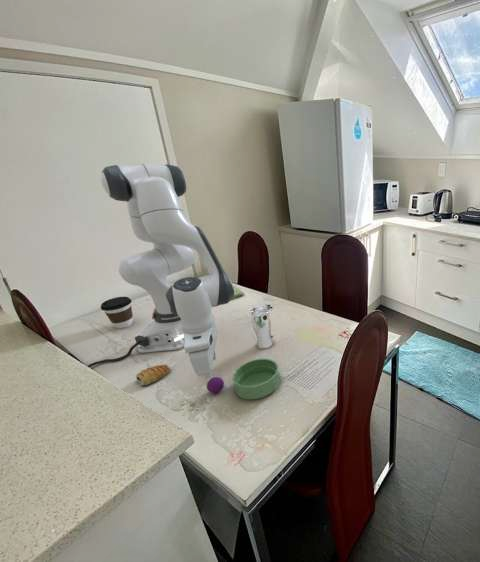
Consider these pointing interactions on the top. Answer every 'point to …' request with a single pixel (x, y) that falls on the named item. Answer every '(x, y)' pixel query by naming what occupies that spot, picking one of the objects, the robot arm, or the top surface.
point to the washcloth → (237, 292)
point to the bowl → (256, 378)
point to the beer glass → (262, 327)
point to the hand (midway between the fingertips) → (211, 367)
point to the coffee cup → (119, 311)
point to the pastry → (152, 374)
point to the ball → (215, 385)
